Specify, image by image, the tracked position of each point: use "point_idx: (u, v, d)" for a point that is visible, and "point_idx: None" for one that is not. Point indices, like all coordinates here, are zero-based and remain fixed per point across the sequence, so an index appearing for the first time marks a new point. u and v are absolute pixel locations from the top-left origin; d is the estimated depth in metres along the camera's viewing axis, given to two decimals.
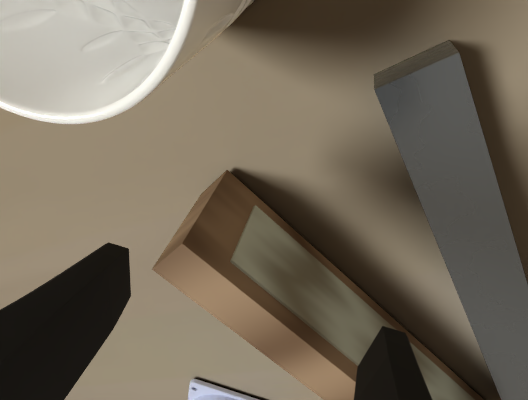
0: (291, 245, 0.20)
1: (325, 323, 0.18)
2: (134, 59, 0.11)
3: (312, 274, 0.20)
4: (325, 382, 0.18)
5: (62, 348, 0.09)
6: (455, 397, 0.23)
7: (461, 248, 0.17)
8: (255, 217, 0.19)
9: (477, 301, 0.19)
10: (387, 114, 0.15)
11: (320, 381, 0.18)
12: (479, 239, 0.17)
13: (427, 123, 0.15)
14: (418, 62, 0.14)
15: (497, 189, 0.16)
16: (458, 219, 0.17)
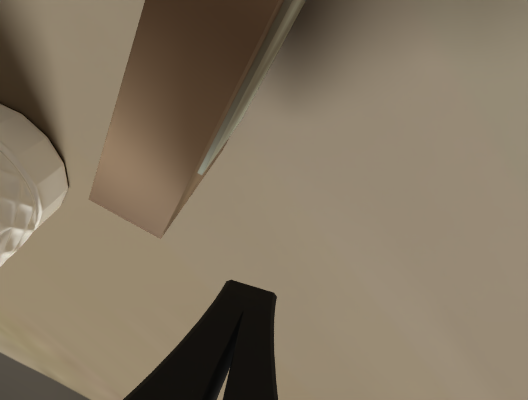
0: None
1: None
2: None
3: None
4: None
5: (210, 397, 0.08)
6: None
7: None
8: None
9: None
10: None
11: None
12: None
13: None
14: None
15: None
16: None
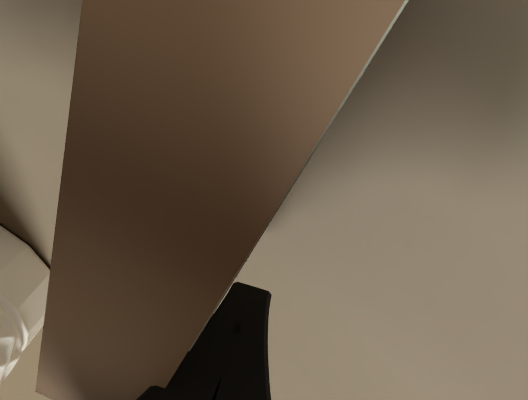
0: None
1: None
2: None
3: None
4: None
5: None
6: None
7: None
8: None
9: None
10: None
11: None
12: None
13: None
14: None
15: None
16: None
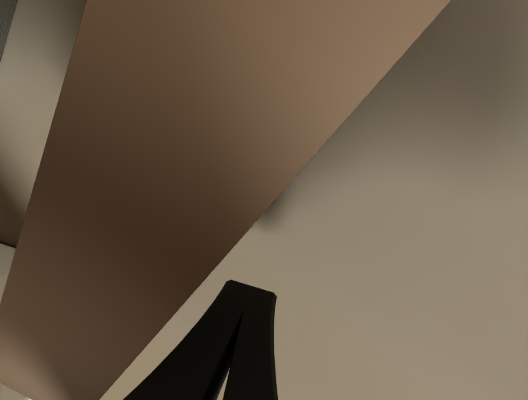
0: None
1: None
2: None
3: None
4: None
5: (210, 397, 0.08)
6: None
7: None
8: None
9: None
10: None
11: (277, 25, 0.03)
12: None
13: None
14: None
15: None
16: None
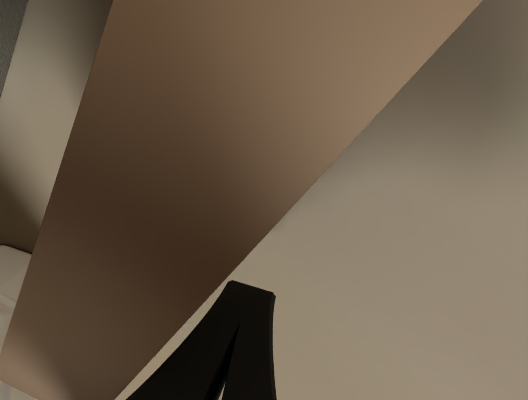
0: None
1: None
2: None
3: None
4: (292, 5, 0.03)
5: (211, 397, 0.08)
6: None
7: None
8: None
9: None
10: None
11: (298, 38, 0.03)
12: None
13: None
14: None
15: None
16: None
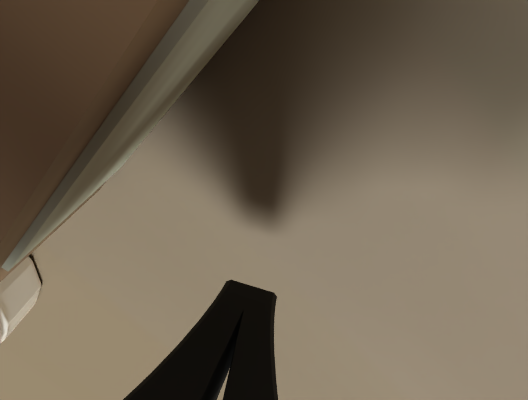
0: None
1: None
2: None
3: None
4: None
5: (210, 397, 0.08)
6: None
7: None
8: None
9: None
10: None
11: None
12: None
13: None
14: None
15: None
16: None
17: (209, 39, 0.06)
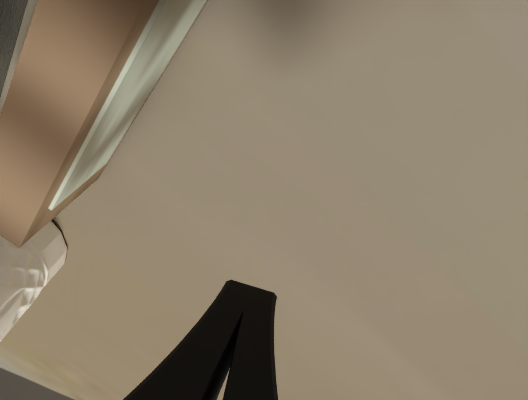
0: None
1: None
2: None
3: None
4: (71, 55, 0.11)
5: (209, 397, 0.08)
6: None
7: None
8: None
9: None
10: None
11: (74, 64, 0.11)
12: None
13: None
14: None
15: None
16: None
17: (129, 101, 0.14)
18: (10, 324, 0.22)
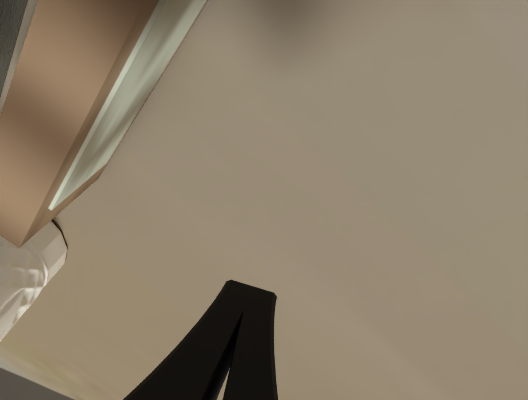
0: None
1: None
2: None
3: None
4: (71, 55, 0.11)
5: (209, 397, 0.08)
6: None
7: None
8: None
9: None
10: None
11: (74, 64, 0.11)
12: None
13: None
14: None
15: None
16: None
17: (129, 101, 0.14)
18: (10, 324, 0.22)
